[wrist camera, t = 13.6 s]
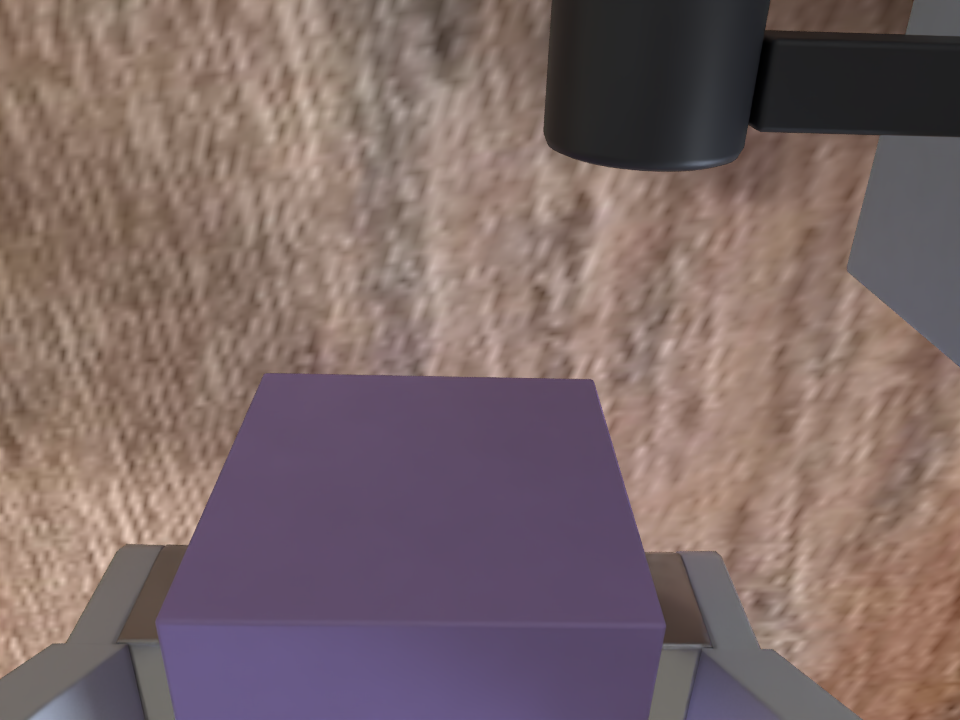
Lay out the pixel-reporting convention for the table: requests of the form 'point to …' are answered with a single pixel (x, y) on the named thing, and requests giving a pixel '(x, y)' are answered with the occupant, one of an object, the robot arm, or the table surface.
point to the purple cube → (415, 559)
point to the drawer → (779, 118)
